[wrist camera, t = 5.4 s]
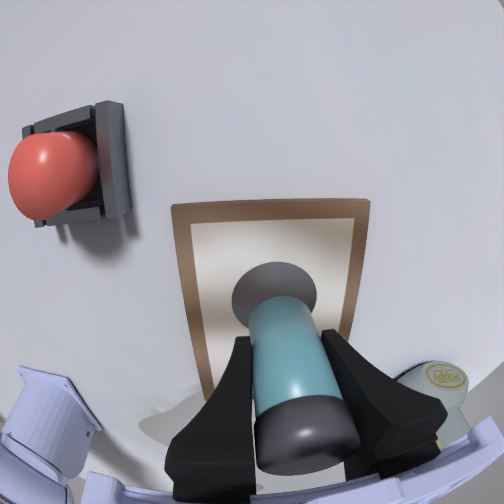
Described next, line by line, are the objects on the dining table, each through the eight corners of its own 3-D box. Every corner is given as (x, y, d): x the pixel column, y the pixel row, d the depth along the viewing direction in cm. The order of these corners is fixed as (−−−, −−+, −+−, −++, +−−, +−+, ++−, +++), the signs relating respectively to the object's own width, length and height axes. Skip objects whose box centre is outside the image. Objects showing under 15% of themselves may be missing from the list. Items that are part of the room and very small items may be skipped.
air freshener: (352, 411, 24) (379, 491, 15) (395, 354, 21) (445, 443, 12) (421, 404, 26) (451, 464, 17) (460, 355, 23) (504, 417, 14)
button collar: (131, 207, 15) (118, 218, 13) (52, 217, 15) (35, 227, 13) (122, 103, 12) (107, 100, 11) (41, 126, 12) (22, 128, 10)
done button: (103, 198, 13) (73, 216, 10) (48, 206, 13) (16, 224, 10) (96, 123, 11) (63, 124, 9) (40, 139, 11) (4, 145, 8)
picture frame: (333, 385, 22) (335, 391, 21) (205, 395, 21) (205, 402, 21) (366, 198, 15) (372, 202, 15) (173, 204, 15) (169, 208, 14)
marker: (310, 344, 16) (347, 466, 8) (247, 349, 15) (256, 479, 8) (315, 292, 14) (373, 423, 7) (245, 296, 14) (255, 442, 7)
